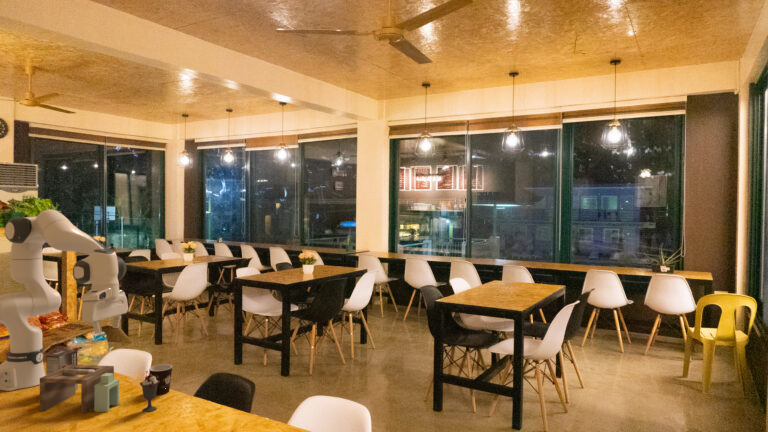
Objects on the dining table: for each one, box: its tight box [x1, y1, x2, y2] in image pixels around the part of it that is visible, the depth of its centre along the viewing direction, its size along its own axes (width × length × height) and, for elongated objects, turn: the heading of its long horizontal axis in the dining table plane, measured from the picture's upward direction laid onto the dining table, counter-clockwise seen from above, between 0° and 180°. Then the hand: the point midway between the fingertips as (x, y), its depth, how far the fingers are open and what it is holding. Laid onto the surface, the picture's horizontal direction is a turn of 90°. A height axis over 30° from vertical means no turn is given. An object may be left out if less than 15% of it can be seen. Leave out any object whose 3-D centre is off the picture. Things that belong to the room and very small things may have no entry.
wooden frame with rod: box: [39, 364, 115, 414], centre depth 187 cm, size 18×16×13 cm
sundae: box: [139, 370, 160, 413], centre depth 182 cm, size 7×7×15 cm
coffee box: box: [45, 349, 79, 391], centre depth 198 cm, size 9×6×16 cm
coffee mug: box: [148, 363, 173, 396], centre depth 198 cm, size 12×9×10 cm
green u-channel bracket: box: [93, 372, 120, 413], centre depth 183 cm, size 5×7×12 cm
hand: (107, 330), depth 182 cm, fingers open, 8 cm apart
